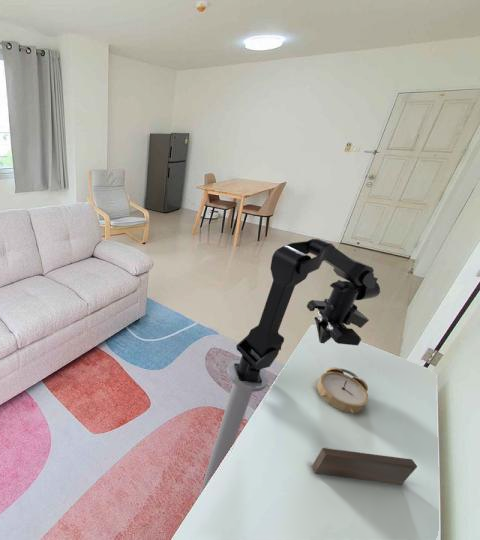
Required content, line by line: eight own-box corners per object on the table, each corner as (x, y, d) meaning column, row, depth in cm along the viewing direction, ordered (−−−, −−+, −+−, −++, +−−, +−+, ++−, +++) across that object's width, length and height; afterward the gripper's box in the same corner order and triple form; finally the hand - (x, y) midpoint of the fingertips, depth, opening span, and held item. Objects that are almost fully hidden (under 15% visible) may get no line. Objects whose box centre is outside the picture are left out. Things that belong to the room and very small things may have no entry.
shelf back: (311, 466, 66) (322, 447, 63) (396, 477, 65) (412, 459, 62) (314, 473, 65) (325, 454, 62) (401, 484, 63) (417, 466, 60)
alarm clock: (315, 389, 82) (330, 355, 90) (310, 399, 85) (325, 365, 93) (364, 414, 75) (376, 376, 84) (357, 424, 78) (369, 386, 86)
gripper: (393, 323, 76) (367, 367, 84) (350, 287, 93) (332, 326, 100) (348, 319, 77) (326, 363, 84) (314, 284, 94) (298, 323, 101)
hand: (321, 342), depth 92 cm, fingers closed
